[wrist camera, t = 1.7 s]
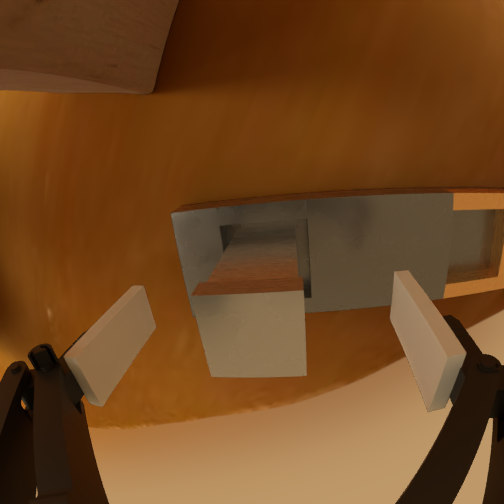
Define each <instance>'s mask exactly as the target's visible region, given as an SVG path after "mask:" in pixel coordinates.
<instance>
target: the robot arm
mask: <svg viewBox="0 0 504 504" xmlns="http://www.w3.org/2000/svg"><path fill="white" fill-rule="evenodd" d="M390 320H391V323H392V325H393V327H394V329H395V332H396V334H397V336H398V338H399V341H400V343H401V345H402V348H403V350H404V352H405V355H406V357H407V359H408V362H409V364H410V367H411V369H412V372H413V374H414V377H415V379H416V382H417V384H418V387H419V390H420V392H421V395H422V398H423V400H424V403H425V406H426V409H427V411H428V412H430V411H434V410H439V409H443V408H445V407H446V404H447V402H448V400H449V398H450V399H451V402H452V404H453V406H452V408H451V410H450V413H449V415H448V417H447V419H446V421H445V423H444V425H443V427H442V429H441V431H440V433H439V435H438V437H437V439H436V440H435V442H434V444H433V446H432V448H431V449H430V451H429V453H428V455H427V456H426V458H425V460H424V461H423V463H422V465H421V466H420V468H419V470H418V471H417V473H416V474H415V476H414V478H413V479H412V480H411V482H410V484H409V485H408V486H407V488H406V490H405V491H404V492H403V494H402V495H401V496H400V498H399V499H398V501H397V502H396V503H395V504H452V503H453V501H454V500H455V498H456V496H457V494H458V492H459V490H460V488H461V486H462V484H463V482H464V480H465V478H466V476H467V474H468V471H469V469H470V467H471V465H472V462H473V460H474V458H475V455H476V453H477V450H478V448H479V445H480V442H481V440H482V437H483V434H484V432H485V429H486V426H487V423H488V420H489V418H493V432H492V445H491V455H490V463H489V471H488V477H487V483H486V489H485V494H484V499H483V504H504V365H501V363H500V362H499V360H497V359H496V358H495V357H493V356H491V355H487V354H482V352H481V351H480V349H479V348H478V346H477V345H476V344H475V342H474V341H473V339H472V338H471V336H470V335H469V334H468V332H467V331H466V329H464V327H463V325H462V324H461V323H460V321H459V320H457V319H456V318H454V317H453V316H451V315H448V316H442V315H441V314H440V312H439V311H438V310H437V308H436V307H435V305H434V304H433V303H432V301H431V300H430V299H429V297H428V296H427V294H426V293H425V292H424V290H423V289H422V288H421V286H420V285H419V284H418V283H417V281H416V280H415V279H414V277H413V276H412V275H411V273H410V272H409V271H408V270H405V271H394V281H393V293H392V303H391V312H390ZM155 329H156V324H155V321H154V318H153V315H152V312H151V308H150V305H149V302H148V298H147V295H146V291H145V288H144V285H142V286H132V287H131V288H130V289H129V290H128V291H127V292H126V293H125V294H124V295H123V296H122V297H120V298H119V299H118V300H117V301H116V302H115V303H114V304H113V305H112V306H111V307H110V308H109V309H108V310H107V311H106V312H105V313H104V314H103V315H102V317H101V318H100V319H99V320H98V321H97V322H96V323H95V324H94V325H93V326H92V327H91V328H90V329H89V330H87V331H86V332H84V333H83V334H82V335H81V336H80V337H79V338H78V339H77V340H76V341H75V342H74V343H73V345H71V346H70V347H69V348H68V349H67V350H66V351H65V352H64V354H63V355H62V356H61V357H60V358H59V359H58V358H57V356H56V354H55V353H54V351H53V349H52V346H51V345H49V344H40V345H38V346H36V347H34V348H33V349H32V350H31V351H30V352H29V353H28V358H29V360H30V361H31V363H32V365H33V367H34V369H31V370H29V368H28V366H27V365H26V363H25V362H24V361H17V362H14V363H12V364H11V365H10V366H9V367H8V368H7V370H6V372H5V374H4V376H3V378H2V380H1V382H0V504H109V502H108V499H107V496H106V493H105V490H104V488H103V484H102V481H101V477H100V474H99V471H98V467H97V463H96V459H95V456H94V451H93V447H92V443H91V439H90V435H89V430H88V425H87V420H86V414H85V409H84V404H83V402H82V401H81V398H82V397H83V395H85V397H86V398H87V400H88V401H89V403H90V404H93V405H97V406H101V407H103V405H104V404H105V402H106V401H107V399H108V398H109V396H110V395H111V393H112V392H113V390H114V389H115V387H116V386H117V384H118V383H119V381H120V380H121V378H122V377H123V375H124V374H125V372H126V371H127V369H128V368H129V366H130V365H131V363H132V362H133V360H134V359H135V357H136V356H137V355H138V353H139V352H140V350H141V349H142V347H143V346H144V344H145V343H146V341H147V340H148V339H149V337H150V336H151V334H152V333H153V331H154V330H155ZM21 399H22V401H23V402H24V404H25V405H26V407H25V410H24V409H23V407H22V406H21ZM36 488H37V491H38V496H37V498H36Z"/></svg>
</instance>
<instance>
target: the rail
mask: <svg viewBox="0 0 504 504" xmlns="http://www.w3.org/2000/svg"><path fill="white" fill-rule="evenodd" d="M171 218H172V223H173V228H174V234H175V239H176V244H177V248H178V253H179V258H180V263H181V267H182V272H183V276H184V281H185V285H186V289H187V294H188V298H189V302H190V306H191V310H192V314H193V317H196V316H195V312H194V308H193V304H192V300H191V295H192V293H193V291H194V290H195V288H196V286H197V285H198V283H202V282H207V281H208V279H209V277H210V275H211V274H212V272H213V270H214V269H215V267H216V265H217V263H218V262H219V260H220V258H221V257H222V255H223V253H224V251H225V250H226V248H227V246H228V245H229V243H230V241H231V239H232V238H233V236H234V234H235V233H236V231H237V230H239V229H250V228H262V227H275V226H287V225H295V230H296V242H297V256H298V270H299V277H303V289H304V308H305V313H312V312H326V311H338V310H350V309H360V308H370V307H380V306H389V305H391V303H392V293H393V281H394V271H405V270H408V271H409V272H410V273H411V275H412V276H413V277H414V279H415V280H416V281H417V283H418V284H419V285H420V286H421V288H422V289H423V290H424V292H425V293H426V294H427V296H428V297H429V299H430V300H436V299H443V298H450V297H456V296H463V295H469V294H475V293H480V292H486V291H492V290H497V289H502V288H504V188H485V187H421V188H385V189H362V190H343V191H327V192H312V193H299V194H287V195H275V196H264V197H254V198H244V199H234V200H225V201H216V202H208V203H199V204H191V205H183V206H181V207H180V208H178V209H176V210H175V211H173V212H172V213H171Z"/></svg>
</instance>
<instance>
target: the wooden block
mask: <svg viewBox="0 0 504 504" xmlns="http://www.w3.org/2000/svg"><path fill="white" fill-rule="evenodd" d="M178 2H179V0H0V90H18V91H38V92H51V93H130V94H149V93H152V91H153V90H154V86H155V82H156V78H157V74H158V70H159V66H160V62H161V58H162V54H163V50H164V47H165V43H166V40H167V36H168V33H169V30H170V26H171V23H172V20H173V17H174V14H175V11H176V8H177V5H178Z"/></svg>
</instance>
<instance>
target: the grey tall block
mask: <svg viewBox="0 0 504 504" xmlns="http://www.w3.org/2000/svg"><path fill="white" fill-rule="evenodd" d="M191 300H192V304H193V308H194V312H195V316H196V320H197V324H198V328H199V332H200V336H201V340H202V344H203V347H204V351H205V355H206V359H207V362H208V366H209V369H210V373H211V377H292V376H307V368H306V333H305V308H304V289H303V277H299V270H298V256H297V242H296V230H295V225H287V226H275V227H262V228H250V229H239V230H237V231H236V233H235V234H234V236H233V238H232V239H231V241H230V243H229V245H228V246H227V248H226V250H225V251H224V253H223V255H222V257H221V258H220V260H219V262H218V263H217V265H216V267H215V269H214V270H213V272H212V274H211V275H210V277H209V279H208V281H207V282H202V283H198V285H197V286H196V288H195V290H194V291H193V293H192V295H191Z"/></svg>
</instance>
